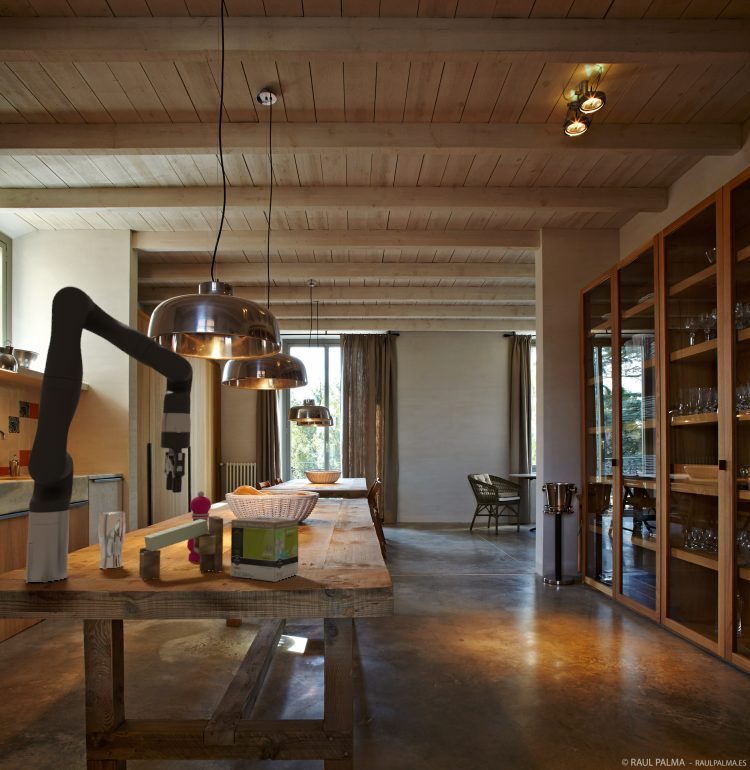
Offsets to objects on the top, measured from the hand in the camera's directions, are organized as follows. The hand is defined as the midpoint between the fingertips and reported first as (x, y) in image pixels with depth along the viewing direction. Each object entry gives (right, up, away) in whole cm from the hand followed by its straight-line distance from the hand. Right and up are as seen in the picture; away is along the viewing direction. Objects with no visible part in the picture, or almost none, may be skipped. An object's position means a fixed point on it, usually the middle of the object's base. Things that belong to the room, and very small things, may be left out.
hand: (173, 491), depth 164 cm
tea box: (+25, -21, -6) cm, 34 cm away
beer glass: (-20, -23, +7) cm, 31 cm away
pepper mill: (+2, -23, +17) cm, 29 cm away
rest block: (-4, -21, -6) cm, 22 cm away
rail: (+2, -13, -2) cm, 13 cm away
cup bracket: (+9, -22, +1) cm, 23 cm away
